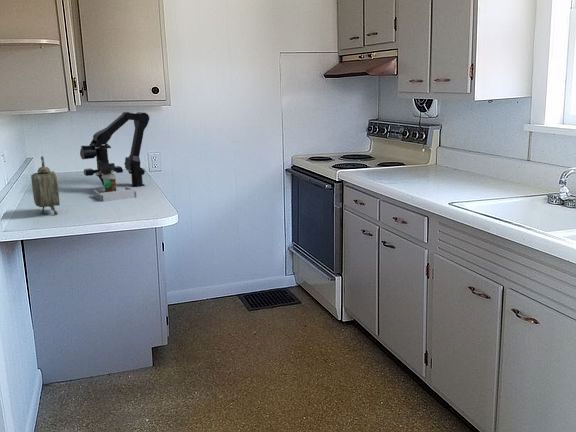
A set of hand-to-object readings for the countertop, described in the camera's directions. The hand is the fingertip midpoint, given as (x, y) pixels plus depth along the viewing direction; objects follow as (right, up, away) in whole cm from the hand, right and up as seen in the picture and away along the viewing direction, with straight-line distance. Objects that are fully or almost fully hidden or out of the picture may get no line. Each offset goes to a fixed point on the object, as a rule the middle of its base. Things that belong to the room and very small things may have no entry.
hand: (104, 187), depth 299 cm
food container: (+4, -3, -7) cm, 9 cm away
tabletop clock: (-10, -14, -48) cm, 50 cm away
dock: (+10, -5, -16) cm, 19 cm away
